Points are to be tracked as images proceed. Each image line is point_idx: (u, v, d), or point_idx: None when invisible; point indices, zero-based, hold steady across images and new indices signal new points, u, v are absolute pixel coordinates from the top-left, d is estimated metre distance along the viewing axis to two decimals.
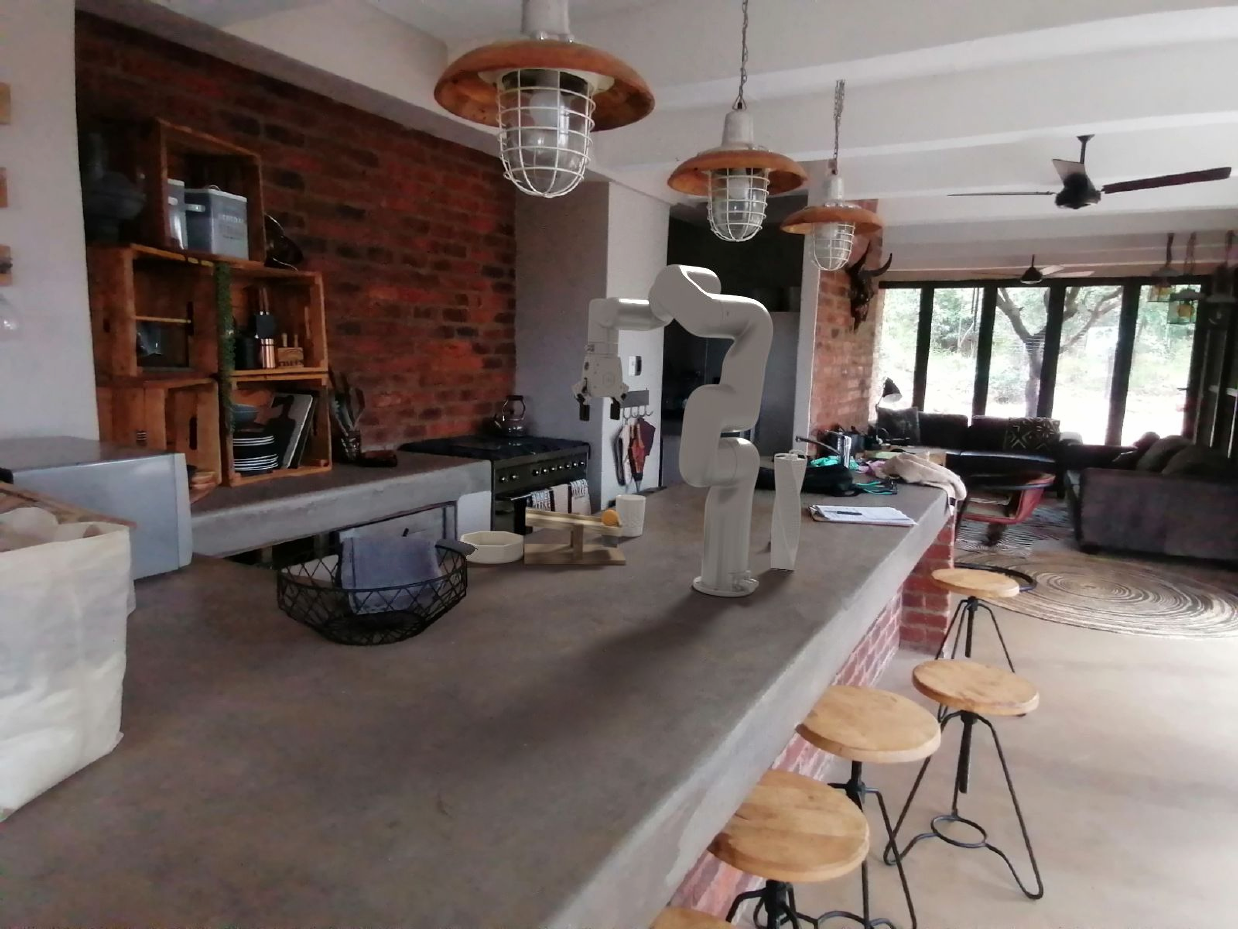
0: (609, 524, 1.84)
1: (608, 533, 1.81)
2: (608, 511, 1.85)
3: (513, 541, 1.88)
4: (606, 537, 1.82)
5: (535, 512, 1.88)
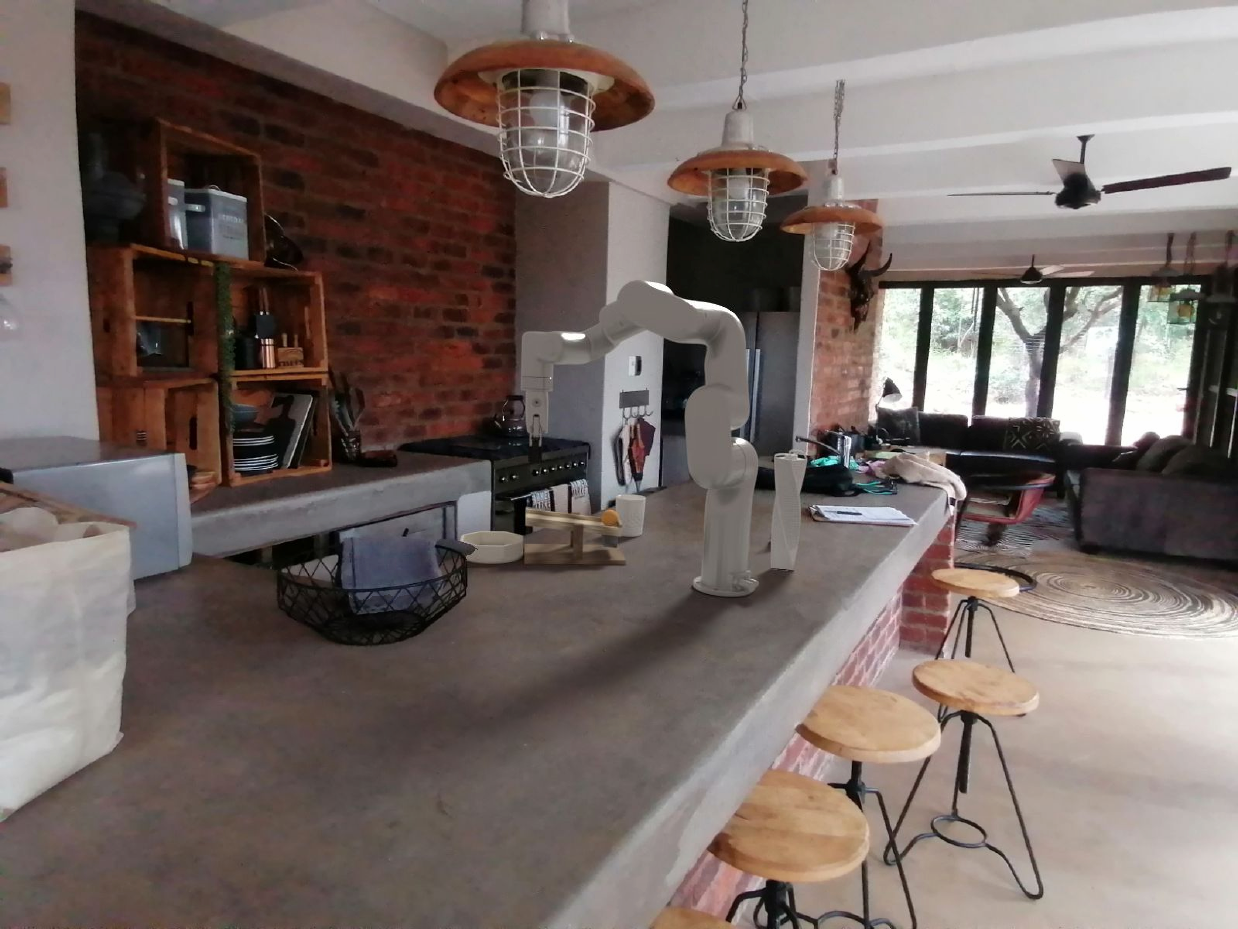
0: (609, 524, 1.84)
1: (608, 533, 1.81)
2: (608, 511, 1.85)
3: (513, 541, 1.88)
4: (606, 537, 1.82)
5: (535, 512, 1.88)
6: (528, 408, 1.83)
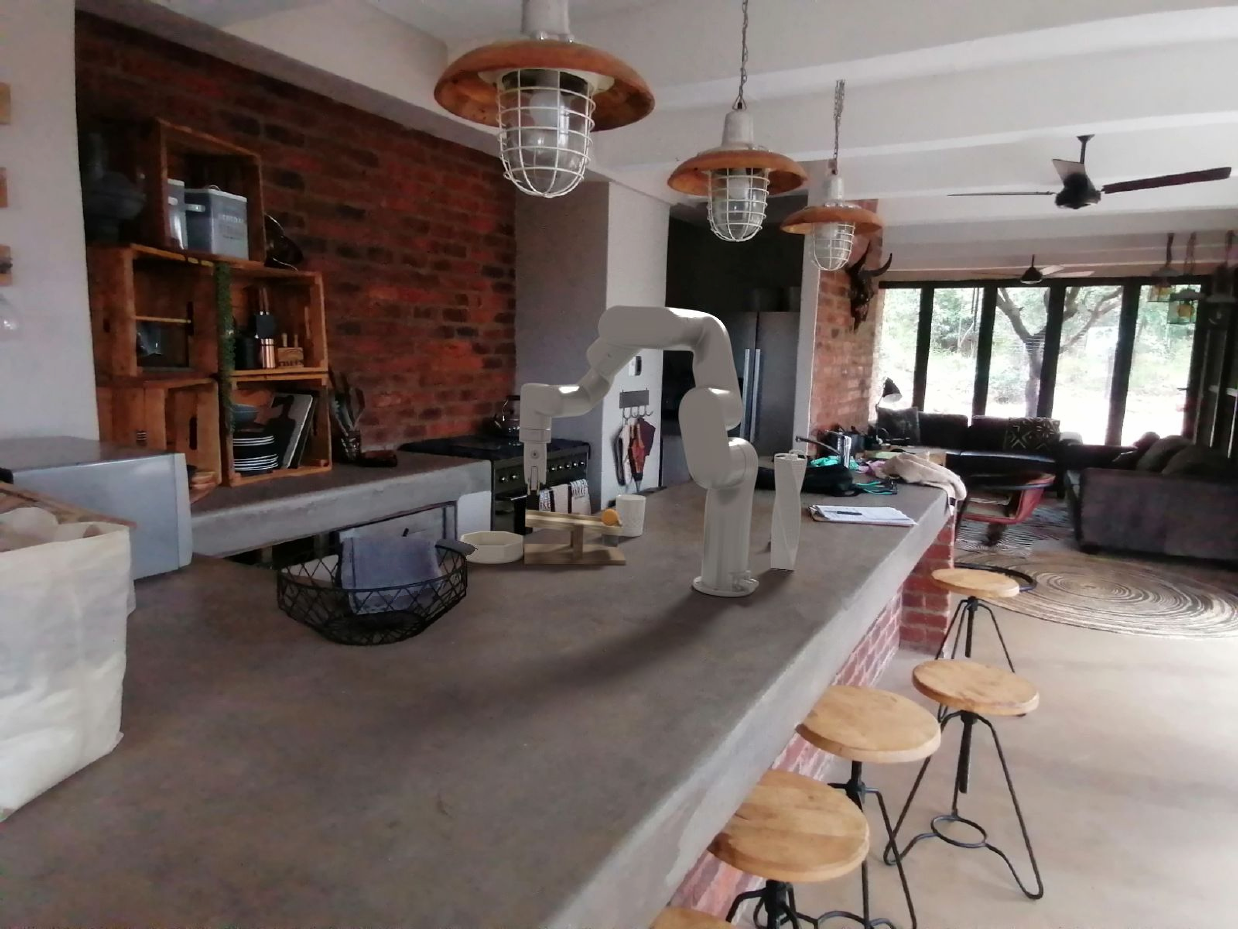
0: (609, 523, 1.84)
1: (608, 532, 1.81)
2: (608, 510, 1.85)
3: (513, 541, 1.88)
4: (606, 536, 1.82)
5: (535, 513, 1.88)
6: (526, 460, 1.85)
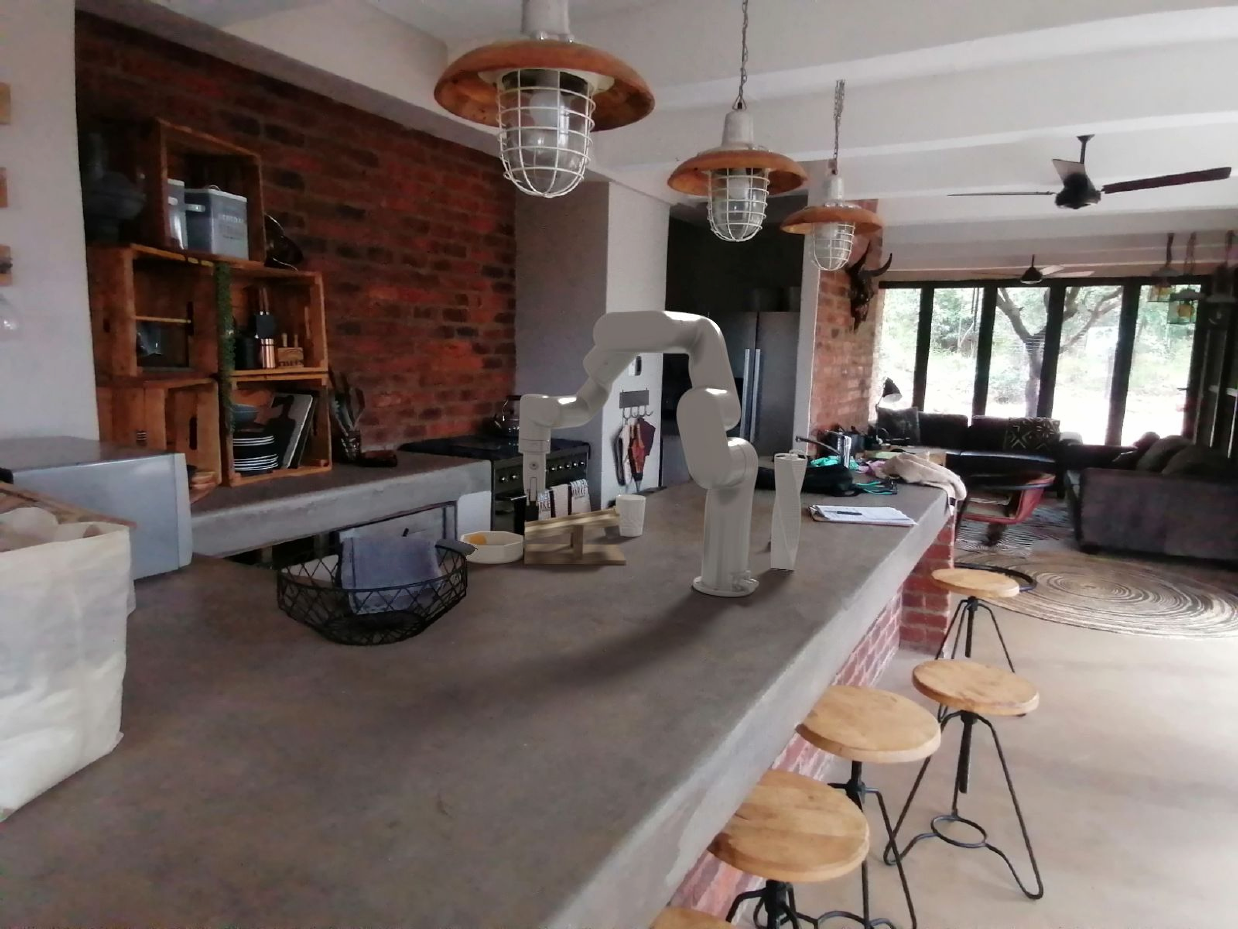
0: (475, 539, 1.81)
1: (608, 525, 1.81)
2: None
3: (513, 541, 1.88)
4: (607, 529, 1.82)
5: (533, 523, 1.88)
6: (525, 471, 1.85)
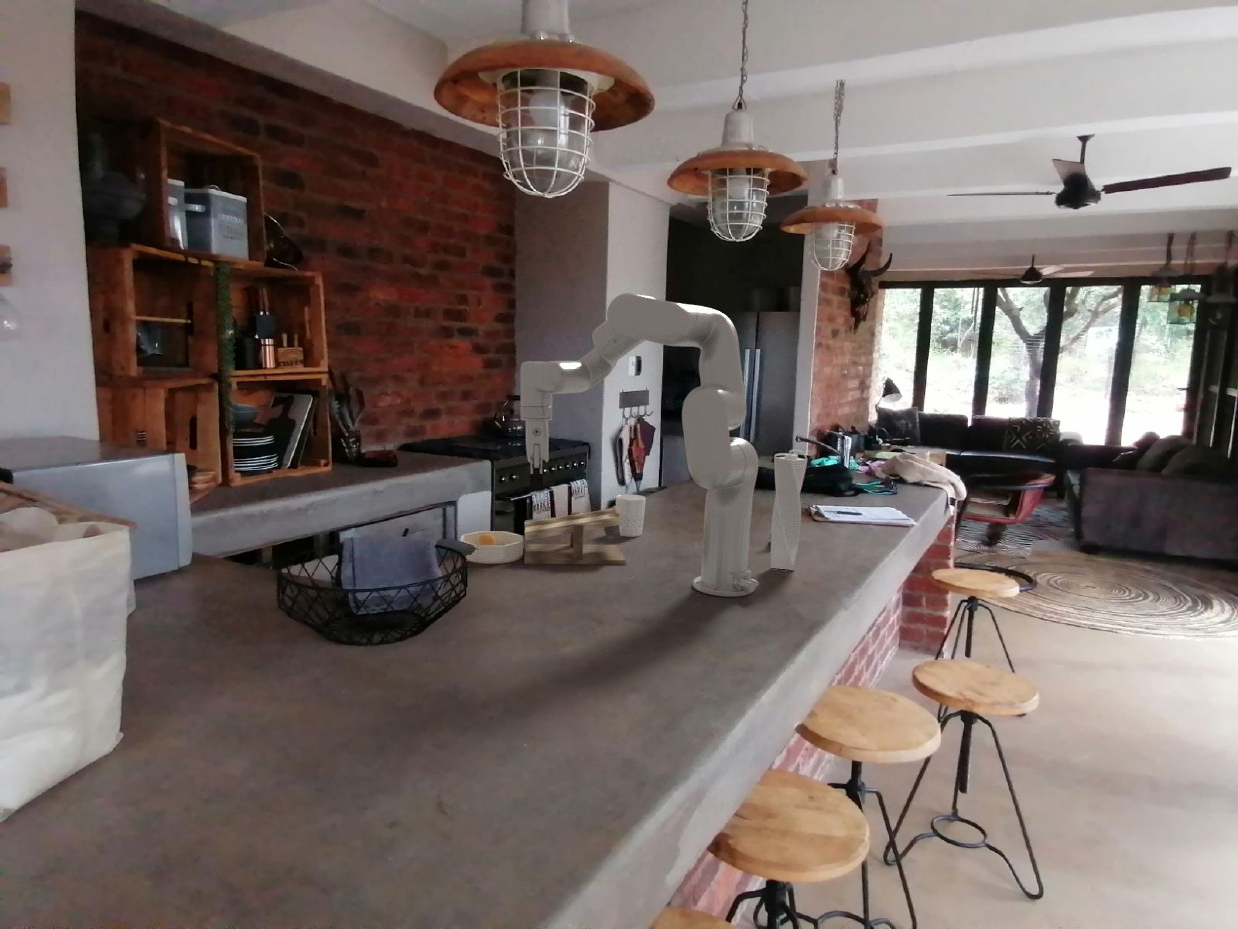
0: (489, 539, 1.82)
1: (608, 525, 1.81)
2: None
3: (513, 541, 1.88)
4: (607, 529, 1.82)
5: (533, 523, 1.88)
6: (528, 438, 1.84)
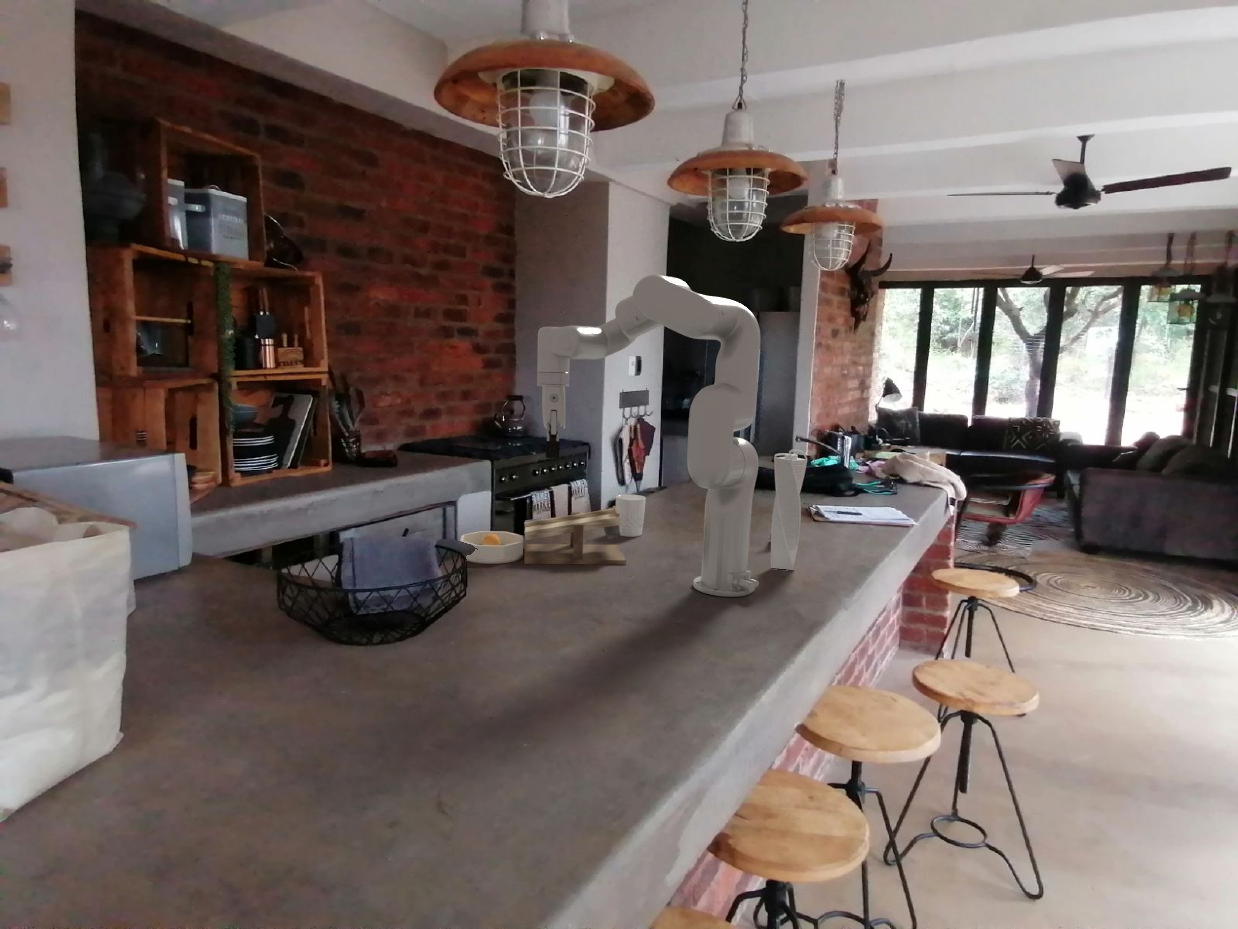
0: (495, 541, 1.82)
1: (608, 525, 1.81)
2: None
3: (513, 541, 1.88)
4: (607, 529, 1.82)
5: (533, 523, 1.88)
6: (545, 404, 1.82)
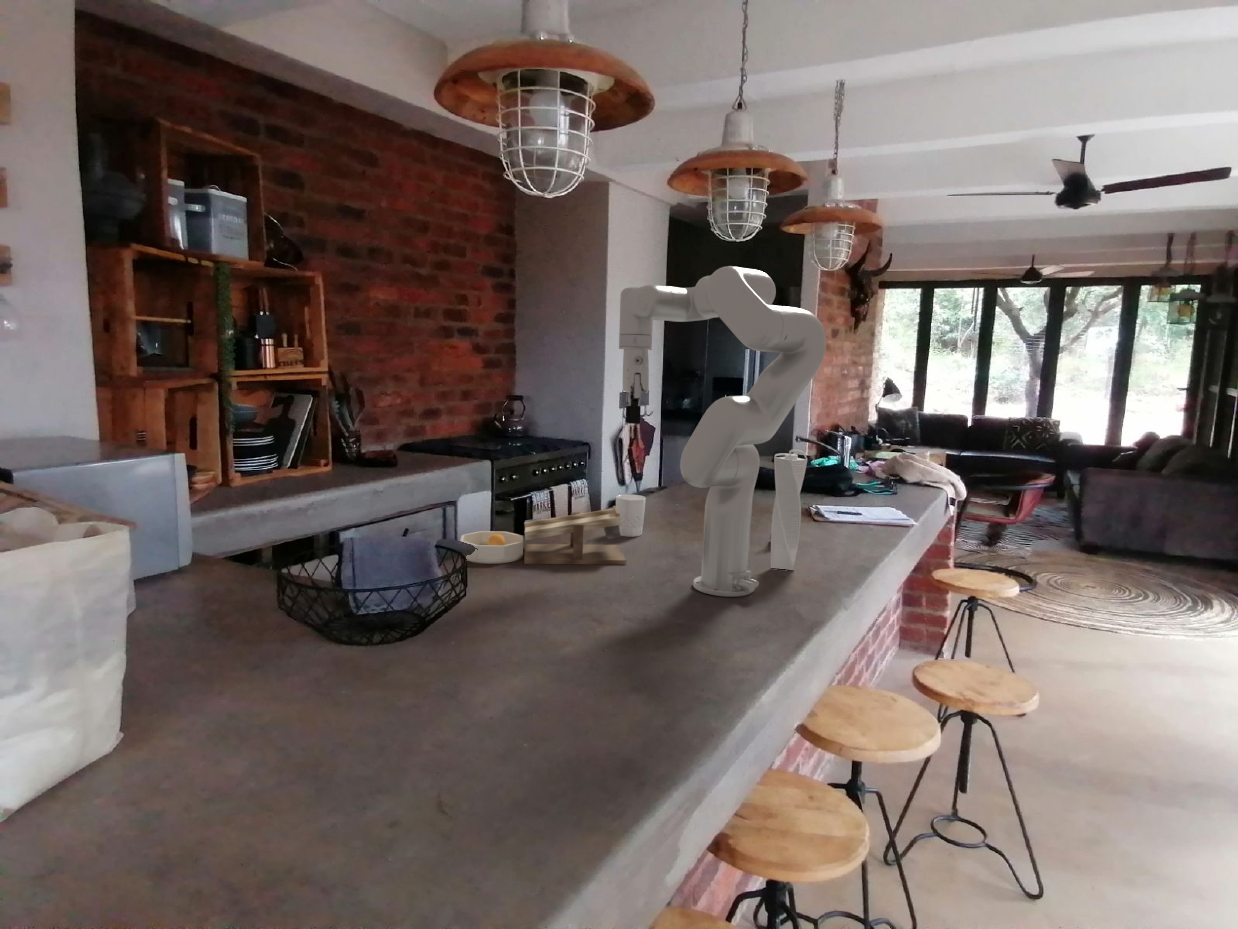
0: (501, 544, 1.82)
1: (608, 525, 1.81)
2: None
3: (513, 541, 1.88)
4: (607, 529, 1.82)
5: (533, 523, 1.88)
6: (629, 366, 1.77)
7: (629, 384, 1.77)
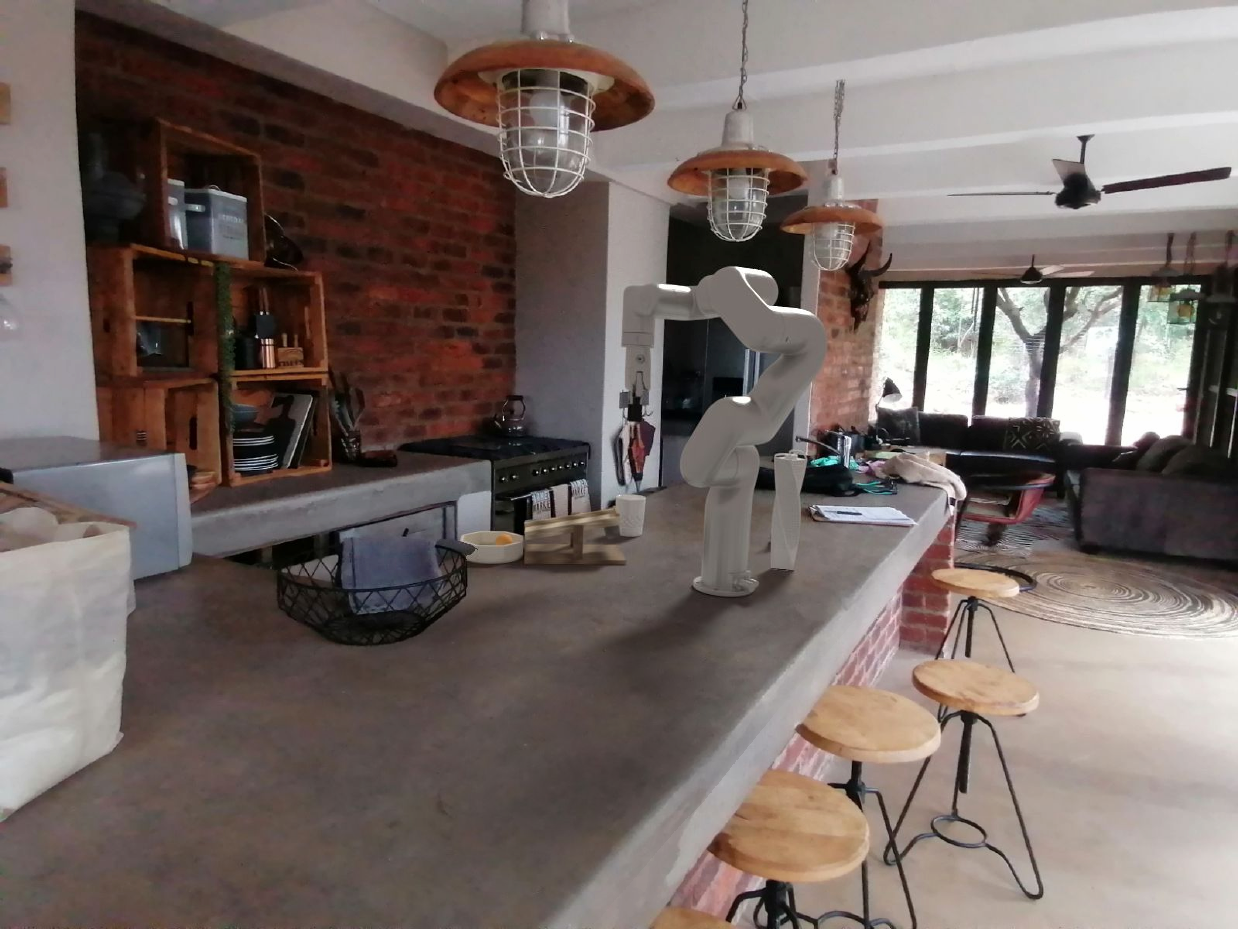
0: None
1: (608, 525, 1.81)
2: (497, 539, 1.83)
3: (513, 541, 1.88)
4: (607, 529, 1.82)
5: (533, 523, 1.88)
6: (631, 365, 1.77)
7: (631, 382, 1.77)
